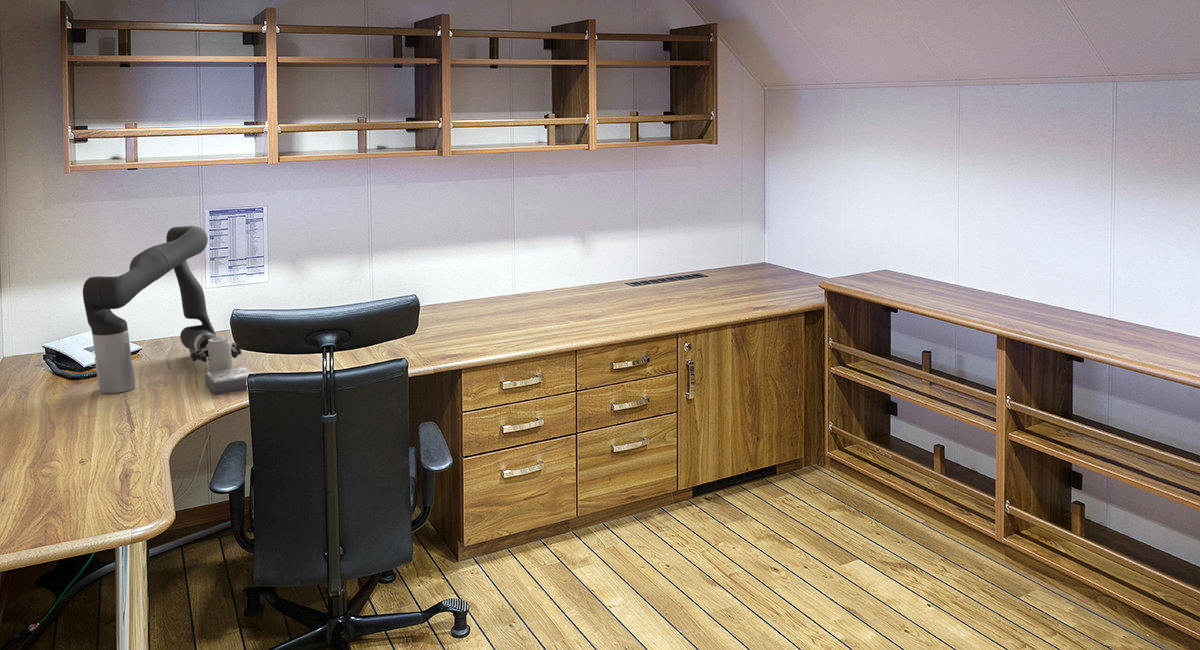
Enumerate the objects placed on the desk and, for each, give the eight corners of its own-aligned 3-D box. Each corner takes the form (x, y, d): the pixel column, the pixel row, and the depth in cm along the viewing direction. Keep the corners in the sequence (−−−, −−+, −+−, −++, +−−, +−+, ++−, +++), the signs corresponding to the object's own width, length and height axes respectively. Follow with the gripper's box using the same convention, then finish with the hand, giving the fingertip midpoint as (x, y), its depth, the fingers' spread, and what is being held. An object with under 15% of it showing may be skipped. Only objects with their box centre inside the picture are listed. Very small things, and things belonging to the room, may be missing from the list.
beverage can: (226, 373, 292) (222, 335, 289) (237, 376, 288) (233, 338, 285) (206, 378, 287) (202, 339, 284) (218, 381, 283) (213, 342, 280)
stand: (214, 395, 269) (212, 381, 269) (205, 385, 279) (204, 372, 278) (257, 388, 276) (256, 374, 275) (247, 378, 286) (246, 365, 285)
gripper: (183, 337, 294) (194, 348, 281) (231, 331, 302) (243, 341, 288) (186, 361, 296) (196, 372, 283) (233, 354, 303) (246, 365, 290)
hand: (220, 356), depth 285 cm, fingers open, 8 cm apart
